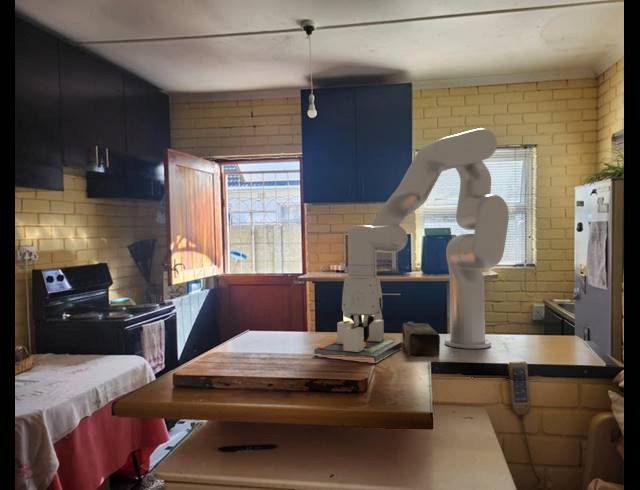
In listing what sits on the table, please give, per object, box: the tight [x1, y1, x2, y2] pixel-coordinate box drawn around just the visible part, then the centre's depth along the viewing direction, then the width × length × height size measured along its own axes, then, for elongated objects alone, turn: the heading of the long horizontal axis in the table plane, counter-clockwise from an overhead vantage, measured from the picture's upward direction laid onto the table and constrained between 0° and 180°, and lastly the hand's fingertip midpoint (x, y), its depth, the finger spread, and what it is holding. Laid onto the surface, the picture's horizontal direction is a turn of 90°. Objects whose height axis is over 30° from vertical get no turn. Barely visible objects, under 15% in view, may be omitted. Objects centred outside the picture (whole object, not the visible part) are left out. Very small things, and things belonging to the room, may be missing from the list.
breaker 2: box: [367, 319, 385, 342], centre depth 129 cm, size 4×4×6 cm
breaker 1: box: [343, 326, 364, 352], centre depth 117 cm, size 4×4×6 cm
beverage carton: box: [402, 321, 441, 358], centre depth 127 cm, size 8×19×7 cm, turn 175°
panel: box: [313, 338, 403, 362], centre depth 123 cm, size 19×17×2 cm
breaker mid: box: [336, 320, 356, 344], centre depth 125 cm, size 4×4×6 cm
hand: (362, 340), depth 123 cm, fingers closed
